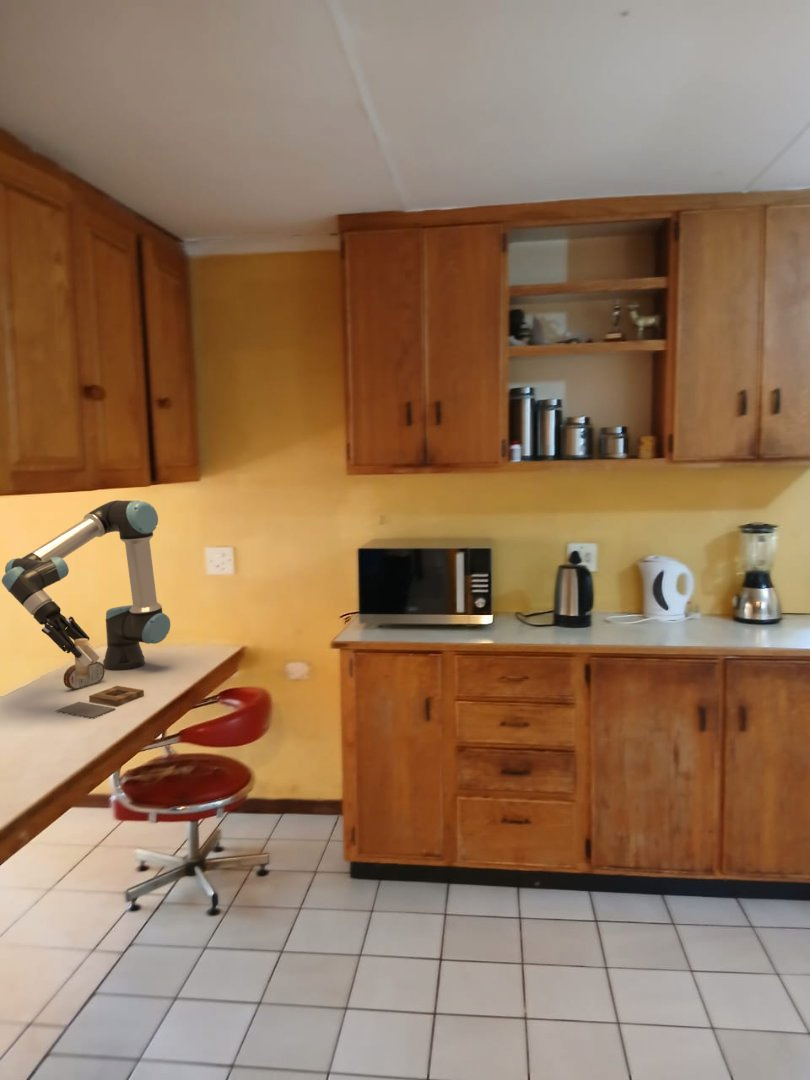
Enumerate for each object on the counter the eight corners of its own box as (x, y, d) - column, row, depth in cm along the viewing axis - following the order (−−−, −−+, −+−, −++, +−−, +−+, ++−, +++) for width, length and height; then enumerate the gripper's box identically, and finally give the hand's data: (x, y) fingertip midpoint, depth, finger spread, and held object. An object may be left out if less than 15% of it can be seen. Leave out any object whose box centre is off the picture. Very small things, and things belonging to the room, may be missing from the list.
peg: (83, 674, 233) (81, 637, 232) (92, 676, 232) (90, 639, 231) (73, 678, 230) (71, 640, 229) (82, 679, 228) (80, 641, 227)
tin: (101, 680, 265) (100, 657, 264) (106, 681, 264) (105, 658, 263) (63, 691, 252) (62, 667, 251) (69, 692, 251) (67, 668, 250)
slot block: (117, 691, 252) (117, 685, 252) (143, 695, 247) (143, 690, 247) (89, 701, 241) (89, 695, 241) (116, 706, 236) (116, 700, 236)
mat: (78, 703, 240) (78, 701, 239) (115, 709, 233) (115, 708, 233) (55, 711, 231) (55, 710, 231) (92, 718, 225) (92, 717, 225)
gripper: (52, 611, 240) (101, 662, 239) (17, 621, 223) (69, 677, 222) (66, 595, 238) (115, 647, 237) (32, 605, 222) (84, 660, 221)
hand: (93, 661), depth 230 cm, fingers closed on peg, 4 cm apart
